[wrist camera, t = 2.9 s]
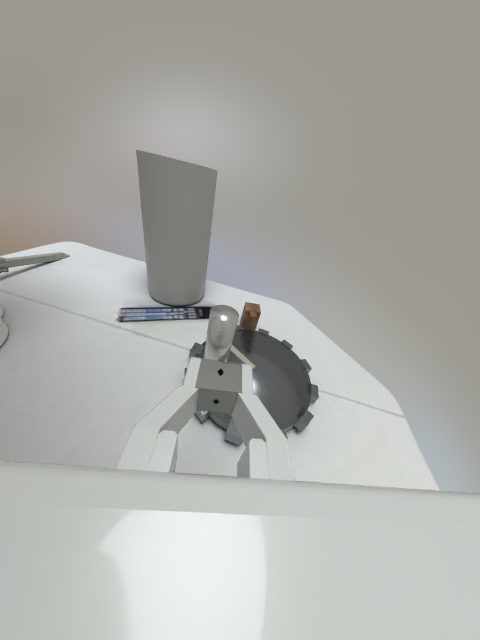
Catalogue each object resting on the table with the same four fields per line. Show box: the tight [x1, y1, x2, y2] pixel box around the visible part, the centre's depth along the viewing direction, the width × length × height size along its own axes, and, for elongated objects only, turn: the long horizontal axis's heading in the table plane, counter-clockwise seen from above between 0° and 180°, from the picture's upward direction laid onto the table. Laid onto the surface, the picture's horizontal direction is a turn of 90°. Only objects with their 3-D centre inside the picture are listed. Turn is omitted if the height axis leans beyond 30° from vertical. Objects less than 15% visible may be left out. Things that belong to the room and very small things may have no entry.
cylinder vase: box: [136, 150, 217, 306], centre depth 39 cm, size 12×12×25 cm
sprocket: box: [184, 305, 319, 445], centre depth 26 cm, size 20×20×13 cm
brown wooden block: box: [240, 302, 261, 331], centre depth 39 cm, size 3×5×5 cm, turn 0°
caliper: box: [0, 252, 70, 273], centre depth 39 cm, size 20×1×6 cm, turn 172°
